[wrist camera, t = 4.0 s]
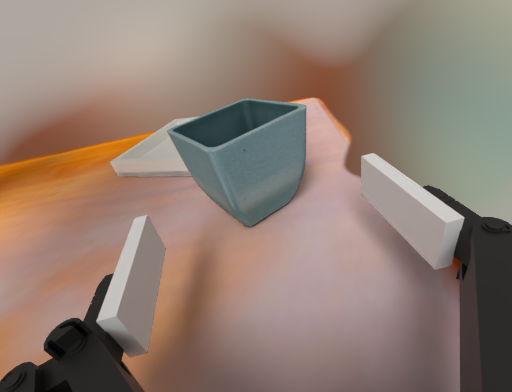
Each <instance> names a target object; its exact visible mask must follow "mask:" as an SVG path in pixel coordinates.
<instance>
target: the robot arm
mask: <svg viewBox="0 0 512 392" xmlns="http://www.w3.org/2000/svg"><path fill="white" fill-rule="evenodd" d="M361 194H362V195H363V196H364V197H365V198H366V199H367V201H368V202H369V203H370V204H371V205H372V206H373V207H374V208H375V209H376V210H377V211H378V212H379V213H380V214H381V215H382V216H383V217H384V218H385V219H386V220H387V221H388V222H389V223H390V224H391V225H392V226H393V227H394V228H395V229H396V230H397V231H398V232H399V233H400V234H401V235H402V236H403V237H404V239H405V240H406V241H407V242H408V243H409V244H410V245H411V246H412V247H413V248H414V249H415V250H416V251H417V252H418V253H419V254H420V255H421V256H422V257H423V258H424V259H425V260H426V261H427V262H428V263H429V264H430V265H431V266H432V267H433V268H434V269H435V270H437V269H440V268H444V267H447V266H451V265H452V261H453V258H454V256H455V257H456V258H457V259H459V260H460V261H461V264H460V267H459V271H458V274H457V277H456V279H460V392H512V225H510V224H509V223H508V222H506V221H503V220H501V219H498V218H493V217H480V216H479V215H477V214H476V213H474V212H473V211H471V210H470V209H468V208H467V207H465V206H464V205H462V204H460V203H459V202H458V201H455V199H453V198H452V197H450V196H448V195H447V194H446V193H444V192H443V191H441V190H440V189H437V188H434V187H431V186H429V185H428V186H424V187H421V186H419V185H418V184H417V183H415V182H414V181H412V180H411V179H410V178H408V177H407V176H405V175H404V174H403V173H401V172H400V171H398V170H397V169H395V168H394V167H393V166H391V165H390V164H388V163H387V162H386V161H384V160H383V159H381V158H380V157H378V156H377V155H376V154H374V153H371V154H368V155H364V156H362V157H361ZM165 249H166V248H165V246H164V244H163V242H162V241H161V239H160V237H159V235H158V233H157V231H156V230H155V228H154V226H153V224H152V222H151V221H150V219H149V217H148V215H144V216H140V217H137V218H134V221H133V223H132V226H131V229H130V232H129V234H128V237H127V240H126V242H125V245H124V248H123V250H122V253H121V256H120V259H119V261H118V264H117V267H116V269H115V272H114V273H113V274H110V275H106V276H105V277H104V279H103V280H102V281H101V282H100V284H99V285H98V287H97V290H96V292H95V294H94V295H95V296H94V297H93V299H92V302H91V303H92V304H90V307H89V309H88V311H87V314H86V316H85V319H84V321H83V322H82V321H81V320H80V319H78V318H71V319H69V320H66V321H64V322H63V323H61V324H60V325H58V326H57V327H56V328H55V329H54V330H53V331H52V332H51V333H50V334H49V336H48V337H47V338H46V341H45V343H44V351H46V352H47V353H48V354H49V355H51V356H52V357H53V358H52V359H50V360H48V361H47V362H45V363H43V364H41V365H40V366H36V365H35V364H33V363H31V362H26V363H22V364H20V365H18V366H16V367H15V368H14V369H12V370H11V371H10V372H8V373H7V374H6V375H5V377H4V378H3V379H2V380H1V381H0V392H144V390H143V389H142V387H141V386H140V385H139V383H138V382H137V380H136V379H135V378H134V376H133V375H132V374H131V372H130V371H129V369H128V368H127V367H126V365H125V364H124V363H123V362H122V361H121V360H122V356H123V352H125V353H126V354H127V355H128V356H129V357H130V358H131V357H134V356H138V355H141V354H145V353H147V352H148V347H149V341H150V335H151V329H152V324H153V318H154V312H155V307H156V301H157V295H158V289H159V284H160V278H161V272H162V266H163V261H164V255H165Z"/></svg>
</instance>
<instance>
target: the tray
mask: <svg viewBox="0 0 512 392" xmlns="http://www.w3.org/2000/svg"><path fill="white" fill-rule="evenodd" d="M195 118H198V117H191V118H183V119H175V120H173V121H172V122H170V123H169V124H167V125H166V126H164V127H163V128H161V129H159V130H158V131H156V132H155V133H153V134H152V135H150V136H149V137H147V138H146V139H144V140H143V141H141V142H139V143H138V144H136V145H135V146H133V147H132V148H130V149H129V150H127V151H126V152H124V153H123V154H121V155H120V156H118V157H116V158H115V159H113V160H112V161H110V163H111V165H112V167H113V169H114V170H115V172H116V174H117V176H118V177H166V176H191V174H190V172H189V171H188V169H187V167H186V165H185V164H184V162H183V160H182V158H181V156H180V155H179V153H178V151H177V149H176V147H175V145H174V144H173V142H172V140H171V138H170V136H169V134H168V133H167V130H169V129H171V128H173V127H175V126H177V125H180V124H183V123H185V122H188V121H190V120H193V119H195Z"/></svg>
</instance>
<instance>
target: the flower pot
mask: <svg viewBox="0 0 512 392" xmlns="http://www.w3.org/2000/svg"><path fill="white" fill-rule="evenodd" d="M167 133H168V134H169V136H170V138H171V140H172V142H173V144H174V145H175V147H176V149H177V151H178V153H179V155H180V156H181V158H182V160H183V162H184V164H185V165H186V167H187V169H188V171H189V172H190V174H191V176H192V177H193V179H194V180H195V181H196V183H197V184H198V185H199V187H200V188H201V189H202V190H203V191H204V192H205V193H206V194H207V195H208V196H209V197H210V198H211V199H212V200H213V201H214V202H216V203H217V204H218V205H219V206H221V207H222V208H223V209H224V210H226V211H227V212H228V213H230V214H231V215H232V216H233V217H235V218H236V219H237V220H239V221H240V222H241V223H242V224H243V225H245V226H247V227H250V226H253V225H255V224H256V223H258V222H259V221H261V220H262V219H264V218H265V217H267V216H268V215H270V214H271V213H273V212H275V211H276V210H278V209H279V208H281V207H283V206H284V205H286V204H287V203H289V202H290V200H291V199H292V197H293V195H294V194H295V192H296V190H297V188H298V186H299V184H300V181H301V178H302V175H303V171H304V167H305V158H306V105H302V104H295V103H285V102H276V101H266V100H257V99H251V98H249V99H243V100H240V101H237V102H234V103H232V104H229V105H227V106H224V107H222V108H219V109H217V110H215V111H212V112H210V113H207V114H205V115H202V116H200V117H198V118H195V119H193V120H190V121H188V122H185V123H183V124H180V125H177V126H175V127H173V128H171V129H169V130H167Z"/></svg>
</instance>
